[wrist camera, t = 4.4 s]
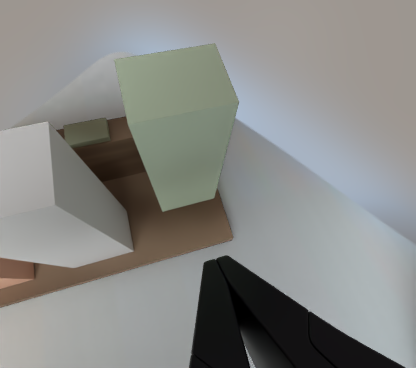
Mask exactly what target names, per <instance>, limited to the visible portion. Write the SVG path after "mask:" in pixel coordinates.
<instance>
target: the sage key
mask: <svg viewBox="0 0 416 368" xmlns="http://www.w3.org/2000/svg"><path fill="white" fill-rule="evenodd" d="M114 61H115V66H116V71H117V75H118V80H119V85H120V90H121V94H122V99H123V104H124V108H125V113H126V118H127V123H128V126H129V129H130V131H131V134H132V136H133V139H134V141H135V144H136V146H137V149H138V151H139V154H140V156H141V159H142V161H143V164H144V166H145V169H146V171H147V174H148V176H149V179H150V181H151V184H152V187H153V189H154V192H155V194H156V197H157V199H158V202H159V204H160V207H161V209H162V212H164V211H167V210H171V209H175V208H179V207H183V206H187V205H190V204H194V203H198V202H202V201H206V200H210V199H213V198H214V197H215V193H216V189H217V185H218V181H219V178H220V174H221V170H222V166H223V162H224V158H225V154H226V151H227V147H228V143H229V139H230V135H231V131H232V127H233V124H234V120H235V116H236V112H237V108H238V104H239V101H238V98H237V96H236V93H235V91H234V88H233V86H232V84H231V81H230V79H229V76H228V74H227V72H226V69H225V66H224V64H223V62H222V60H221V57H220V54H219V52H218V49H217V47H216V45H215V43H214V44H208V45H202V46H196V47H190V48H184V49H177V50H171V51H165V52H158V53H152V54H146V55H140V56H133V57H127V58H121V59H115V60H114Z"/></svg>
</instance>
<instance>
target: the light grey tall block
mask: <svg viewBox="0 0 416 368" xmlns="http://www.w3.org/2000/svg"><path fill="white" fill-rule="evenodd" d="M130 252H134V248H133V242H132V237H131V232H130V226H129V221H128V215H127V211H126V210H125V208H124V207H123V206H122V205H121V204H120V203H119V202H118V200H117V199H116V198H115V197H114V196H113V195H112V194H111V193H110V191H109V190H108V189H107V188H106V187H105V186H104V185H103V183H102V182H101V181H100V180H99V179H98V178H97V177H96V175H95V174H94V173H93V172H92V171H91V170H90V169H89V167H88V166H87V165H86V164H85V163H84V162H83V161H82V159H81V158H80V157H79V156H78V155H77V154H76V153H75V151H74V150H73V149H72V148H71V147H70V146H69V145H68V143H67V142H66V141H65V140H64V139H63V138H62V137H61V135H60V134H59V133H58V132H57V131H56V130H55V129H54V127H53V126H52V125H51V124H50V123H49V122H48V121H47V122H42V123H37V124H32V125H26V126H21V127H16V128H11V129H5V130H1V131H0V258H7V259H14V260H21V261H27V262H34V263H41V264H48V265H55V266H62V267H69V268H77V267H80V266H84V265H87V264H91V263H94V262H98V261H102V260H105V259H109V258H112V257H116V256H119V255H123V254H127V253H130Z"/></svg>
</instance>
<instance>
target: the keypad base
mask: <svg viewBox="0 0 416 368" xmlns="http://www.w3.org/2000/svg"><path fill="white" fill-rule="evenodd" d="M56 131H57V132H58V133H59V134H60V135H61V137H62V138H63V139H64V140H65V141H66V142H67V143H68V145H69V146H70V147H71V148H72V149H73V150H74V151H75V153H76V154H77V155H78V156H79V157H80V158H81V159H82V161H83V162H84V163H85V164H86V165H87V166H88V167H89V169H90V170H91V171H92V172H93V173H94V174H95V175H96V177H97V178H98V179H99V180H100V181H101V182H102V183H103V185H104V186H105V187H106V188H107V189H108V190H109V191H110V193H111V194H112V195H113V196H114V197H115V198H116V199H117V200H118V202H119V203H120V204H121V205H122V206H123V207H124V208H125V210H126V211H127V215H128V221H129V226H130V232H131V237H132V242H133V248H134V252H130V253H127V254H123V255H119V256H116V257H112V258H109V259H105V260H102V261H98V262H94V263H91V264H87V265H84V266H80V267H77V268H69V267H62V266H55V265H48V264H41V263H34V280H30V281H27V282H23V283H20V284H16V285H13V286H9V287H5V288H2V289H0V308H1V307H4V306H8V305H11V304H14V303H18V302H21V301H25V300H28V299H32V298H35V297H38V296H42V295H45V294H49V293H52V292H56V291H59V290H62V289H66V288H69V287H73V286H76V285H80V284H83V283H86V282H90V281H93V280H97V279H100V278H104V277H107V276H110V275H114V274H117V273H121V272H124V271H128V270H131V269H135V268H138V267H141V266H145V265H148V264H152V263H155V262H159V261H162V260H165V259H169V258H172V257H176V256H179V255H183V254H186V253H189V252H193V251H196V250H200V249H203V248H207V247H210V246H213V245H217V244H220V243H224V242H227V241H231V240H232V239H233V235H232V232H231V229H230V226H229V223H228V220H227V217H226V214H225V210H224V207H223V204H222V201H221V198H220V195H219V192H218V189H216V193H215V197H214V198H213V199H210V200H206V201H202V202H198V203H194V204H190V205H187V206H183V207H179V208H175V209H171V210H167V211H164V212H162V209H161V207H160V204H159V202H158V199H157V197H156V194H155V192H154V189H153V187H152V184H151V181H150V179H149V176H148V174H147V171H146V169H145V166H144V164H143V161H142V159H141V156H140V154H139V151H138V149H137V146H136V144H135V141H134V139H133V136H132V134H131V131H130V129H129V126H128V123H127V118H126V117H121V118H116V119H111V120H106V118H100V119H95V120H90V121H85V122H80V123H75V124H70V125H64V129H60V130H56Z"/></svg>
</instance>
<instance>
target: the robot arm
mask: <svg viewBox="0 0 416 368" xmlns="http://www.w3.org/2000/svg"><path fill="white" fill-rule="evenodd" d="M244 344H245V346H246V348H247V350H248V352H249V354H250V356H251V359H252V361H253V363H254V365H255V367H256V368H405V367H404V366H402V365H400V364H398V363H396V362H394V361H393V360H391V359H389V358H387V357H385V356H384V355H382V354H380V353H378V352H376V351H375V350H373V349H371V348H369V347H367V346H366V345H364V344H362V343H360V342H358V341H357V340H355V339H353V338H352V337H350V336H348V335H346V334H345V333H343V332H341V331H340V330H338V329H336V328H335V327H333V326H332V325H330V324H329V323H327V322H326V321H324V320H322V319H321V318H319V317H318V316H316V315H315V314H314V313H312V312H309V313H308V310H307V309H306V308H305V307H303V306H302V305H300V304H299V303H297V302H296V301H294V300H293V299H291V298H290V297H288V296H287V295H285V294H284V293H282V292H281V291H279V290H278V289H277V288H275V287H274V286H272V285H271V284H269V283H268V282H266V281H265V280H263V279H262V278H260V277H259V276H257V275H256V274H254V273H253V272H251V271H250V270H248V269H247V268H246V267H244V266H243V265H241V264H240V263H238V262H237V261H235V260H234V259H232V258H231V257H229V256H227V255H225V256H222V257H219V258H217V259H216V260H215V259H212V260H209V261H206V262H204V265H203V272H202V280H201V287H200V294H199V301H198V309H197V316H196V323H195V330H194V337H193V345H192V352H191V354H192V355H191V358H190V365H189V368H250V365H249V361H248V357H247V354H246V350H245V346H244Z"/></svg>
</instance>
